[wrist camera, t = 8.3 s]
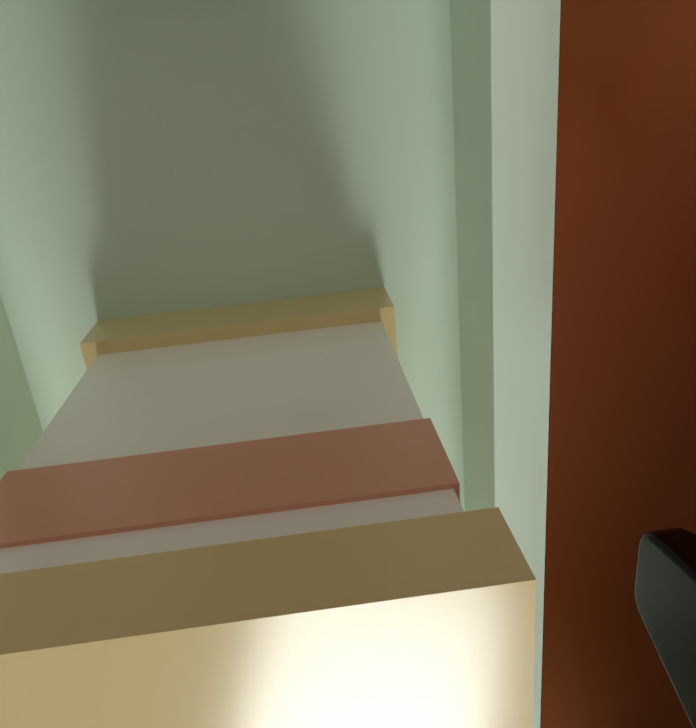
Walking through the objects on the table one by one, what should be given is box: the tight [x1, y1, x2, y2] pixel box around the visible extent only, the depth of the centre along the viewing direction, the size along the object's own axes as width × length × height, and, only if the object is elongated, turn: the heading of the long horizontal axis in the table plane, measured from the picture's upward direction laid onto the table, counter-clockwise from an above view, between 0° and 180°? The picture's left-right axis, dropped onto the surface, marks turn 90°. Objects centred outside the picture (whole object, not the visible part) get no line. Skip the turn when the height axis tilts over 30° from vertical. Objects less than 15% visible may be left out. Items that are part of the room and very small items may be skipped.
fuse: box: [0, 288, 536, 728], centre depth 8 cm, size 4×4×7 cm
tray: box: [0, 0, 561, 728], centre depth 11 cm, size 9×17×2 cm, turn 5°
